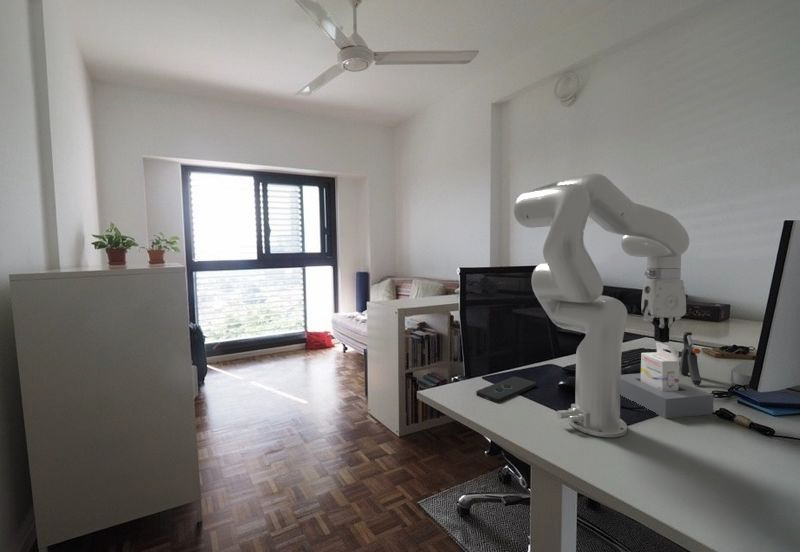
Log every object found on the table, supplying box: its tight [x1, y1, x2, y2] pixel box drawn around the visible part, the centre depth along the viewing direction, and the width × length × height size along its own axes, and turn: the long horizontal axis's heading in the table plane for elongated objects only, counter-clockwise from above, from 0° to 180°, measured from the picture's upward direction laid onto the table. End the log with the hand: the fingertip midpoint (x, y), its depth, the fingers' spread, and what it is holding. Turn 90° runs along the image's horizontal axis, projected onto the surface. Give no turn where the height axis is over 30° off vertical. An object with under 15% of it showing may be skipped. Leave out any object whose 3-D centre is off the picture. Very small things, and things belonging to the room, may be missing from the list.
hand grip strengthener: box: [679, 331, 702, 386], centre depth 119 cm, size 2×12×15 cm, turn 159°
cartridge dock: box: [620, 372, 715, 419], centre depth 103 cm, size 14×18×5 cm
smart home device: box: [475, 375, 537, 404], centre depth 113 cm, size 8×2×20 cm
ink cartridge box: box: [640, 341, 680, 392], centre depth 103 cm, size 9×5×15 cm, turn 3°
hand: (661, 341), depth 102 cm, fingers closed
